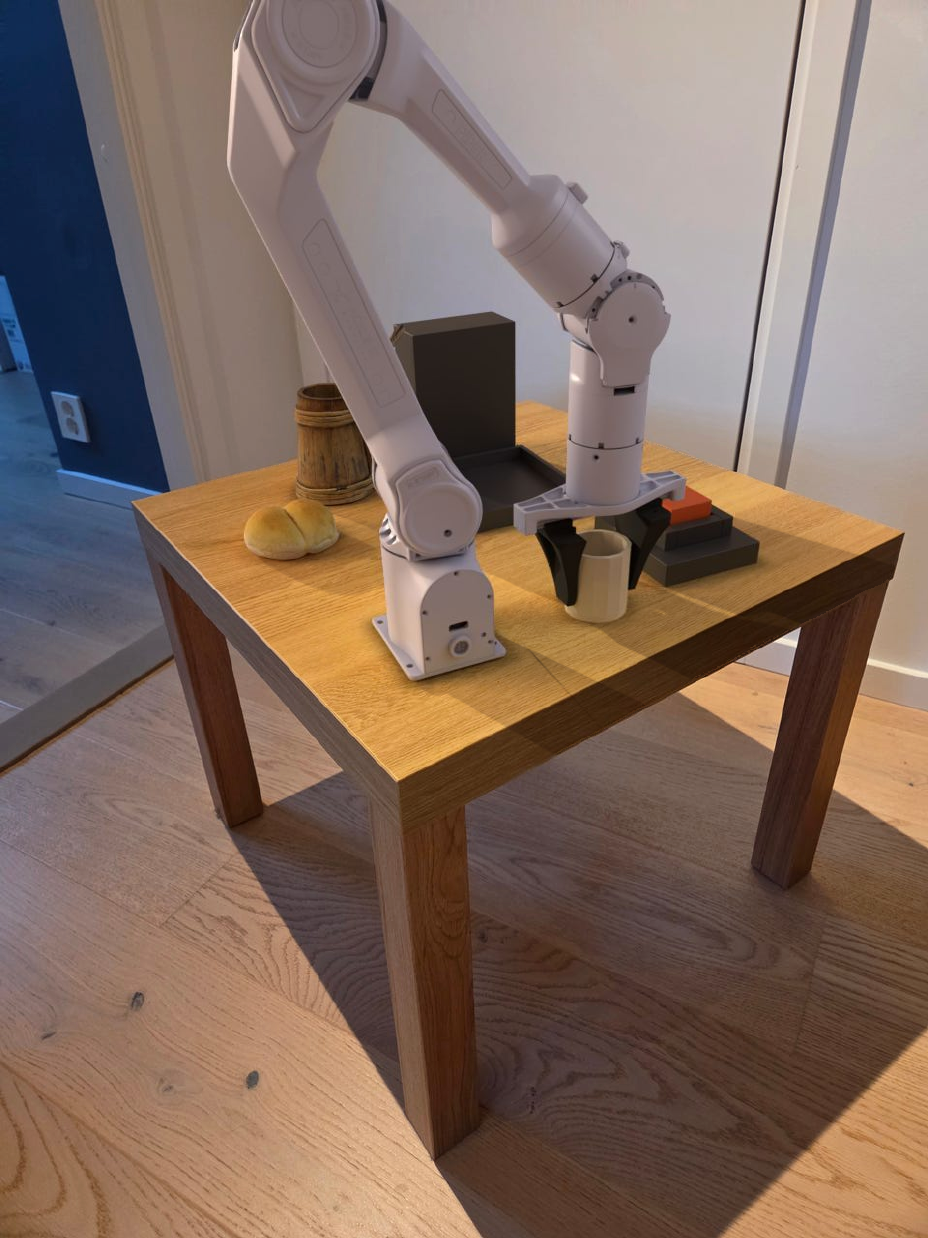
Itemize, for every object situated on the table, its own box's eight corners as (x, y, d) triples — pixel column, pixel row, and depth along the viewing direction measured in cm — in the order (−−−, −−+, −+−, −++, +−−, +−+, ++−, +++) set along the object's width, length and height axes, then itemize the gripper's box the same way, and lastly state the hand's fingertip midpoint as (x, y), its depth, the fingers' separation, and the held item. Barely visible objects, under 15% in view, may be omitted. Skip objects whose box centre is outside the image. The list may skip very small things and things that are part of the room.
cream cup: (639, 613, 71) (644, 549, 68) (583, 629, 69) (586, 564, 66) (605, 586, 75) (609, 524, 72) (552, 600, 73) (554, 537, 70)
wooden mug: (407, 508, 90) (395, 334, 81) (285, 504, 92) (259, 334, 83) (422, 476, 98) (413, 313, 88) (309, 473, 100) (287, 313, 90)
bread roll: (239, 537, 86) (232, 500, 84) (324, 518, 89) (320, 483, 87) (257, 571, 79) (249, 532, 77) (348, 550, 82) (344, 512, 80)
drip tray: (588, 508, 89) (588, 489, 88) (472, 534, 84) (472, 515, 83) (521, 461, 101) (522, 444, 100) (417, 481, 96) (416, 464, 95)
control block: (756, 563, 78) (763, 523, 75) (664, 588, 74) (669, 547, 72) (678, 513, 87) (682, 477, 85) (593, 534, 84) (595, 496, 82)
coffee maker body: (515, 460, 101) (515, 321, 92) (421, 479, 97) (412, 335, 89) (494, 445, 106) (492, 311, 97) (403, 462, 102) (393, 324, 93)
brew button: (710, 517, 78) (712, 500, 77) (669, 527, 76) (671, 509, 75) (681, 500, 81) (683, 483, 80) (642, 509, 80) (643, 492, 79)
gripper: (655, 406, 70) (642, 554, 77) (495, 436, 65) (497, 590, 72) (709, 432, 64) (690, 588, 71) (539, 466, 59) (536, 630, 67)
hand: (596, 592), depth 71 cm, fingers closed on cream cup, 5 cm apart
